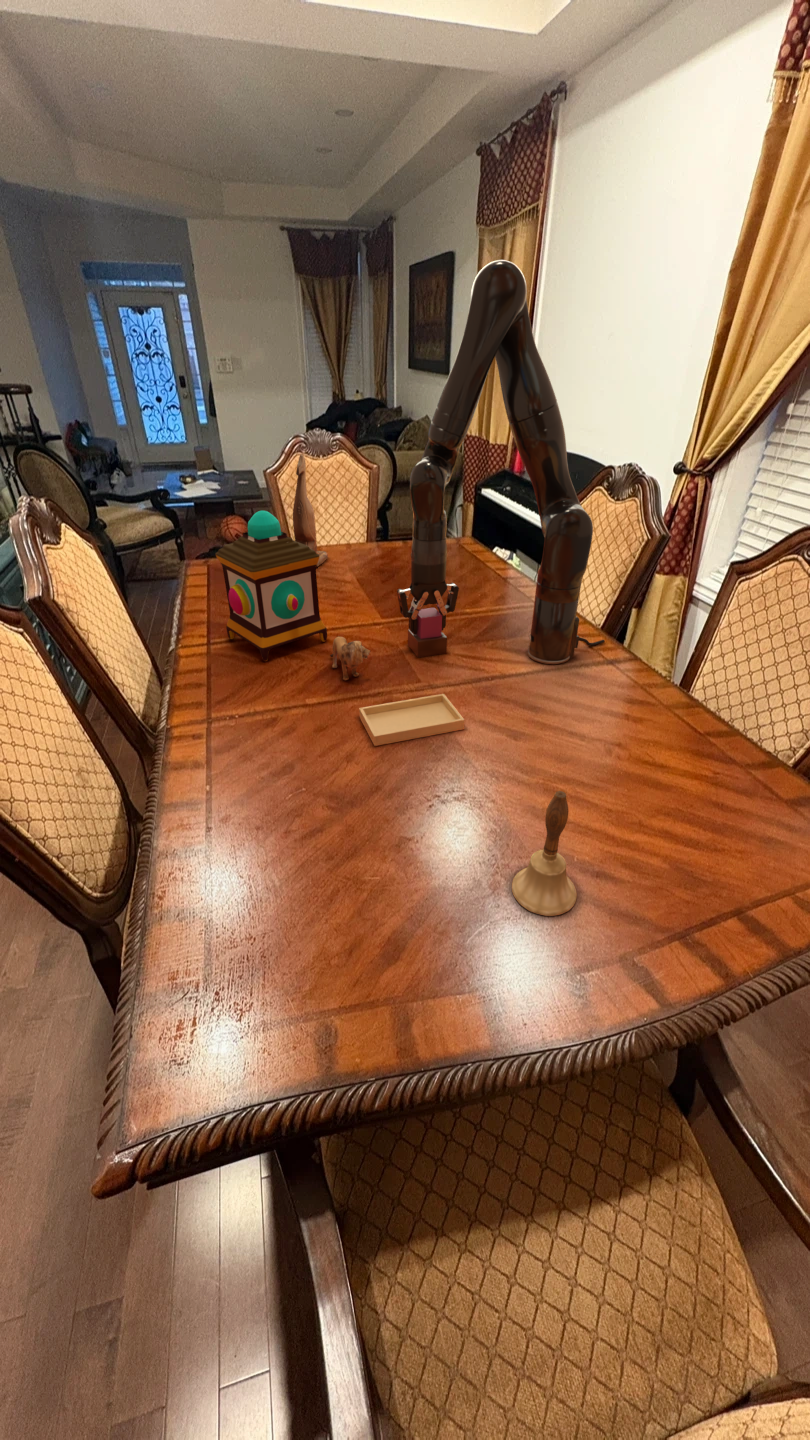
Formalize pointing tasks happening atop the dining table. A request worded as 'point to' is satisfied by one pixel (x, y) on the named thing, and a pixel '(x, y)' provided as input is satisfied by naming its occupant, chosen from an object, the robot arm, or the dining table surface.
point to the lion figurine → (348, 655)
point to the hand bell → (547, 869)
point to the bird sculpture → (305, 514)
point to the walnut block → (427, 645)
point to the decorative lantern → (270, 586)
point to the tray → (410, 719)
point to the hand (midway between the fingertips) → (427, 630)
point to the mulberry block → (429, 623)
